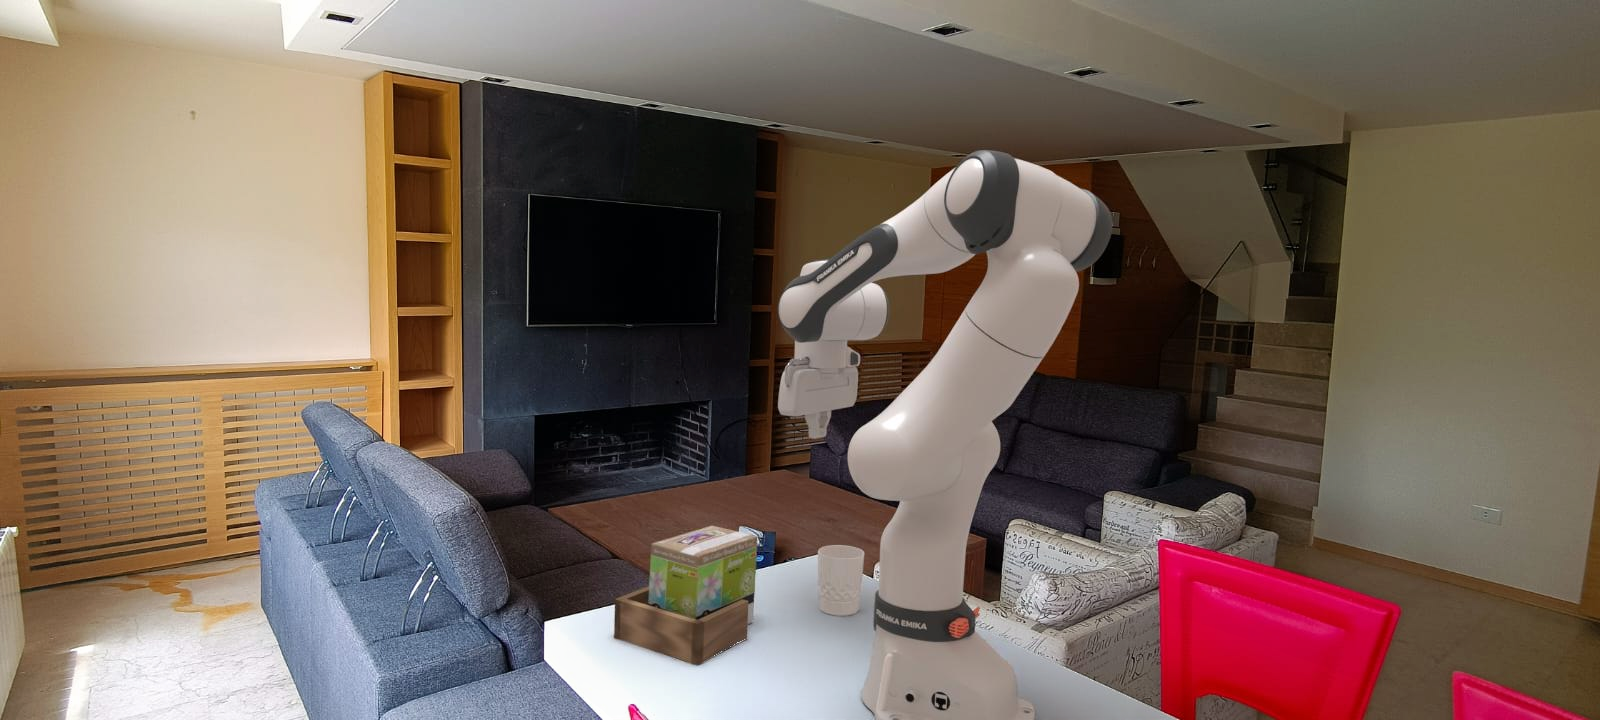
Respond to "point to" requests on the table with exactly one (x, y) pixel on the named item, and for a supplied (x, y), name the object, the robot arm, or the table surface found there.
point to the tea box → (703, 572)
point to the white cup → (840, 579)
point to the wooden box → (678, 628)
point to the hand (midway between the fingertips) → (817, 437)
